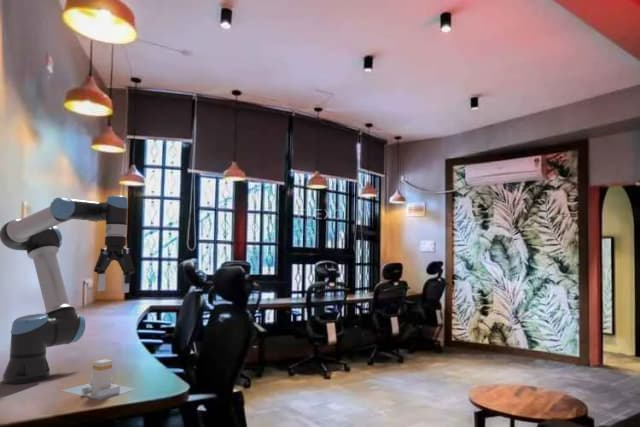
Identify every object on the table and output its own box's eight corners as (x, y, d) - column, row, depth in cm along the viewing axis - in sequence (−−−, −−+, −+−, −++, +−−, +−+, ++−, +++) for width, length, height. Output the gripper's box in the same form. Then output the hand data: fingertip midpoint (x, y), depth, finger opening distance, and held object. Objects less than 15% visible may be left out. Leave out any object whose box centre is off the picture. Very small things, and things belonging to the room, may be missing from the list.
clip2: (101, 386, 162) (101, 377, 163) (110, 385, 164) (111, 376, 164) (102, 389, 159) (103, 379, 159) (112, 388, 160) (112, 378, 161)
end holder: (81, 395, 152) (82, 387, 152) (103, 389, 159) (103, 382, 159) (98, 399, 148) (98, 391, 149) (119, 393, 155) (119, 385, 156)
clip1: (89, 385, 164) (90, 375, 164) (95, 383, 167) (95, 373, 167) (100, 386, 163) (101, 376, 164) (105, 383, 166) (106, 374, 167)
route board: (60, 394, 157) (60, 390, 157) (97, 384, 169) (97, 381, 170) (99, 403, 148) (100, 399, 148) (136, 392, 160) (136, 389, 160)
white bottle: (91, 392, 153) (93, 361, 154) (102, 389, 157) (104, 359, 158) (99, 394, 151) (101, 363, 152) (110, 391, 155) (112, 360, 156)
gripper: (86, 235, 183) (82, 290, 181) (130, 235, 171) (127, 293, 169) (102, 236, 190) (100, 289, 188) (146, 236, 178) (143, 292, 176)
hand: (113, 291), depth 179 cm, fingers open, 13 cm apart
